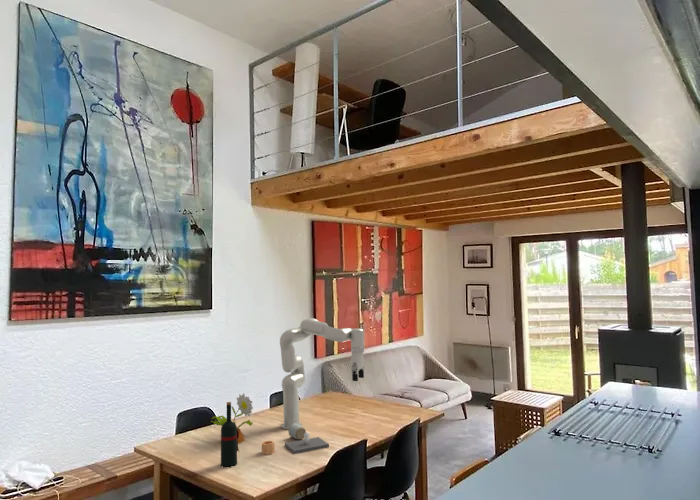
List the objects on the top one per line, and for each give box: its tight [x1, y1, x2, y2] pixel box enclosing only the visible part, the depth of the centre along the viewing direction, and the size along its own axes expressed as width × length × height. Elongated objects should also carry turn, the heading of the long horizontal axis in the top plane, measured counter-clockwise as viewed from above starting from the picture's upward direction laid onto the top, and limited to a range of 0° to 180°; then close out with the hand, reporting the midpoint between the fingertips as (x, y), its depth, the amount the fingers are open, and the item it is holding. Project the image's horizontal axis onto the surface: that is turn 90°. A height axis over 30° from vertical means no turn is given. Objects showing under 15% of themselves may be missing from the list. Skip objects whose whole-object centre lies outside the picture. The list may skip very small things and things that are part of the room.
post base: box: [284, 431, 330, 455], centre depth 260 cm, size 14×20×7 cm
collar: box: [261, 440, 275, 456], centre depth 252 cm, size 6×6×5 cm
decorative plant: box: [210, 392, 254, 444], centre depth 272 cm, size 27×24×25 cm
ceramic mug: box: [287, 423, 307, 441], centre depth 275 cm, size 11×8×8 cm
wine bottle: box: [220, 401, 240, 468], centre depth 238 cm, size 8×10×30 cm
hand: (358, 379), depth 282 cm, fingers open, 9 cm apart
